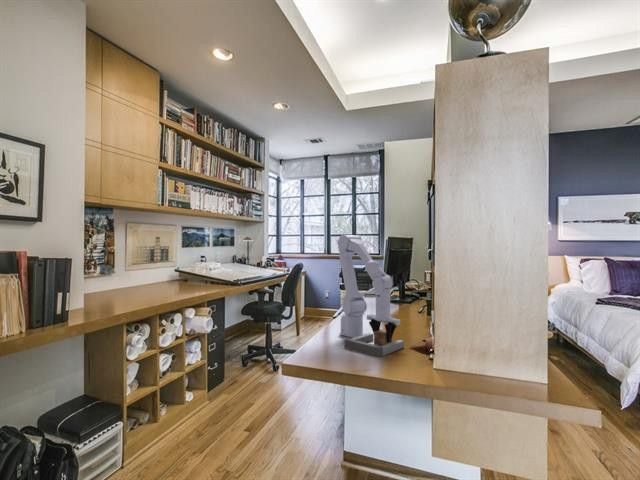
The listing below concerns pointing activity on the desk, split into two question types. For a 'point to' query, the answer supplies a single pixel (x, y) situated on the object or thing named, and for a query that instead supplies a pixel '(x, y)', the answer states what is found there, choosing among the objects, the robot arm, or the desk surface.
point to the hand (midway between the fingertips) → (382, 340)
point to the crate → (380, 337)
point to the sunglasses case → (423, 345)
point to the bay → (364, 347)
